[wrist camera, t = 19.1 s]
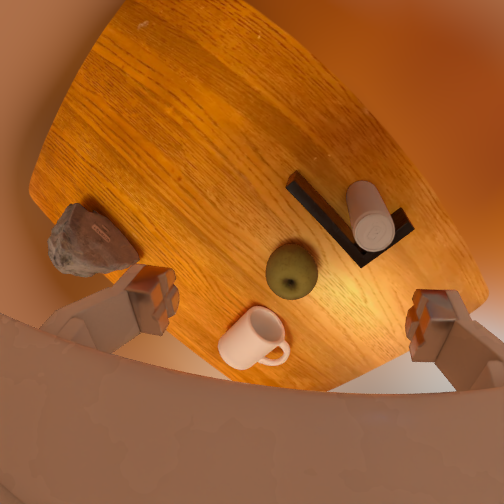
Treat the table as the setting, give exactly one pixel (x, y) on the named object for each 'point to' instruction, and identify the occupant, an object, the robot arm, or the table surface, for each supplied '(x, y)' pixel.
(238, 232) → the table surface
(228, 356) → the mug
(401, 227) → the bracket
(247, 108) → the table surface
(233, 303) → the table surface
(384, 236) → the beverage can
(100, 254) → the decorative rock
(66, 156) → the table surface
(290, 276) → the apple
